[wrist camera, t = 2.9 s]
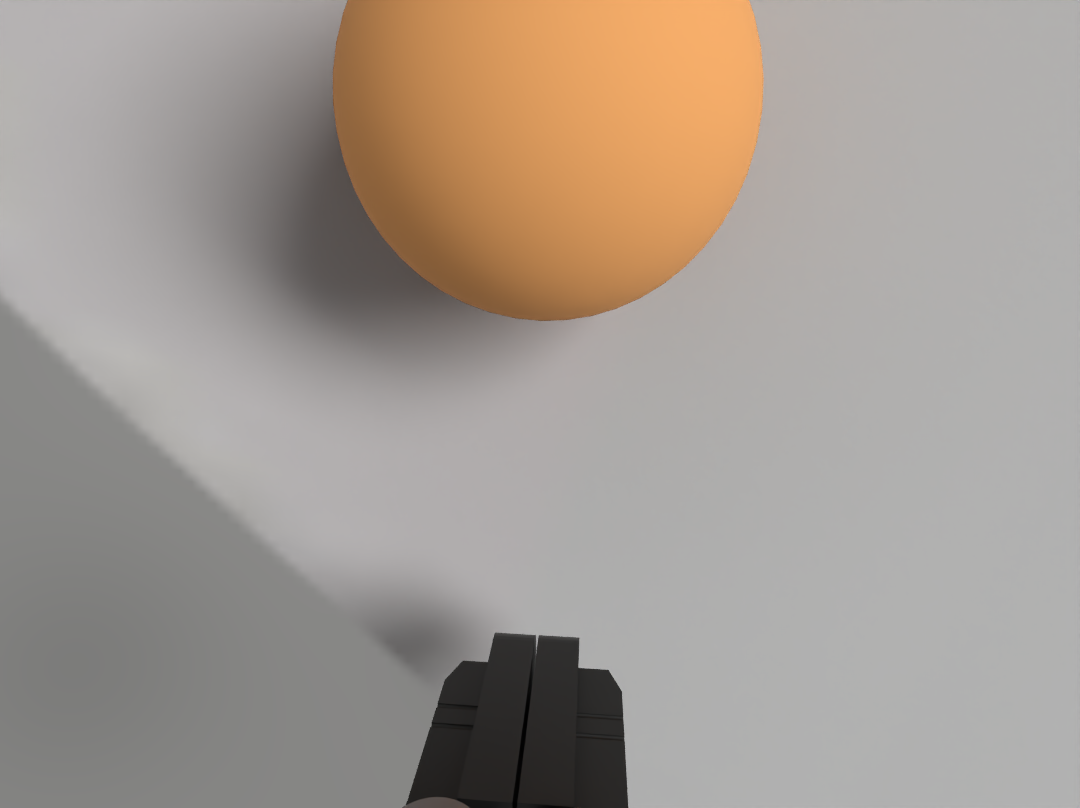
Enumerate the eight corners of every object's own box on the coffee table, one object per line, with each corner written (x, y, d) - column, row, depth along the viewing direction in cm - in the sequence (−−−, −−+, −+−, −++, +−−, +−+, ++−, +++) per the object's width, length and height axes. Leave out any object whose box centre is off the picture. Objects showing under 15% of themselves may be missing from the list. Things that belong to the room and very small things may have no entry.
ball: (393, -53, 11) (215, -267, 6) (737, -55, 11) (870, -284, 6) (406, 286, 13) (275, 353, 8) (706, 296, 12) (785, 372, 7)
